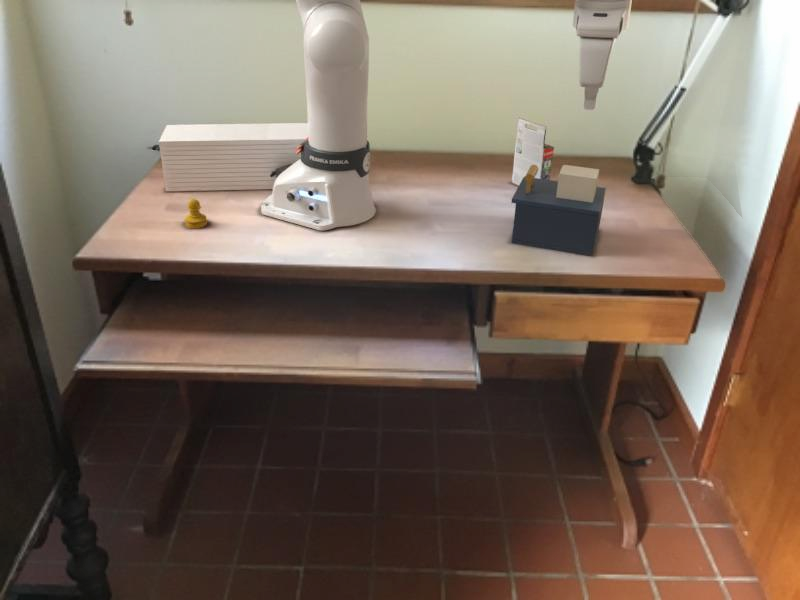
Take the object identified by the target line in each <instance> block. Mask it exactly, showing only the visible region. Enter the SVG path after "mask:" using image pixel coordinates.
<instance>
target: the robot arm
mask: <svg viewBox="0 0 800 600" xmlns="http://www.w3.org/2000/svg"><path fill="white" fill-rule="evenodd" d="M632 1H633V0H575V1H574V9H573V18H572V26H573V28H575V30H576V32H575V33H576V36H577V37H579V45H578V46H579V50H578V51H579V52H578V56H579V57H578V79H579V80H578V82H579V86H580V87H582V88H584V100H583V101H584V102H583V108H584V110H587V111H588V110H589V111H591V110H592V111H593V110H595V108H596V101H597V96H598V93H599V90H600V89H601V88H603V86H604V83H605V81H606V76H607V72H608V69H609V64H610V60H611V55H612V52H613V48H614V45H615V42H616V41H617V40H618V39H619V38H620V34H621V33H623V31H625V30H627V29H628V28H629V23H630V17H631V11H632V9H631V8H632V3H633V2H632ZM295 3H296V6H297V11H298V15H299V17H300V21H301V24H302V29H303V30H302V31H303V40H302V42H303V60H304V61H303V63H304V75H305V76H304V77H305V78H304V80H305V95H306V112H307V113H306V116H307V123H308V137H307V138H306V141H304V142H303V143H301V144H300V146H299V147H298V148H297V149H296V150H298V149H299V150H298V151H297V153H296V154H299V153H300V152H301V159H299V160H298V161H297V162H295V163H294V164H293V163H292V164H289V165H286V166H283V167H280V168H277V169H276V171H274V172H272V173H271V175H270V177H273V176H274V175H276V180H275V182H274V186H273V189H272V193H271V194H269V195H268V196H267V197H266V198H265V199H264V200H263V202H262V203H261V206H260V212H261V215H263V216H266V217H270V218H274V219H277V220H281V221H284V222H288V223H292V224H296V225H299V226H301V227H302V226H303V227H306V228H310V229H313V230H317V231H322V232H323V231H328V230H332V229H335V228H341V227H349V226H350V227H351V226H355V225H360V224H363V223H365V222H367V221H370V220H371V219H373V217H374V216H375V215H376V212H377V209H376V206H375V203H374V199H373V195H372V191H371V183H370V176H369V175H370V174H369V173H370V168H371V151H370V150H371V148H370V147H371V146H370V141H369V140H368V94H369V70H370V69H369V68H370V64H369V63H370V38H369V33H368V30H367V29H368V28H367V25H366V22H365V18H364V12H363V7H362V3H361V0H295ZM156 149H158V150H160V146H159V144H154V145H153V146H152V147H151V150H153V151H154V150H156Z"/></svg>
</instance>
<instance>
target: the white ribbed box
mask: <svg viewBox="0 0 800 600" xmlns="http://www.w3.org/2000/svg"><path fill="white" fill-rule="evenodd" d="M307 137H308V122H286V123H285V122H284V123H282V122H281V123H280V122H278V123H277V122H276V123H212V124H211V123H208V124H207V123H205V124H199V123H198V124H166V125H165V128H164V129H163V132H162V134H161V136H160V138H159V140H158V145H159V146H160V149H159V154H160V159H161V164H162V165H161V166H162V167H161V168H162V173H163V180H164V186H165V192H201V191H205V192H207V191H247V190H249V191H251V190H255V191H256V190H273V186H274V182H275V180H276V175H274V176H273V177H270V175H271V173H272V172H274V171H276V169H277V168H280V167H283V166H286V165H289V164H292V163H293V164H294V163H295V162H297V161H298V160H299V159H301V152H300V153H299V154H296V153H297V151H298V150H299V149H298V150H296V149H297V148H298V147H299V146H300V144H301V143H303V142H304V141H306V138H307Z"/></svg>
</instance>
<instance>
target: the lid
mask: <svg viewBox="0 0 800 600" xmlns="http://www.w3.org/2000/svg"><path fill="white" fill-rule="evenodd" d="M537 172H538V167H537V166H536V165H532V166H530V168H529V170H528V172H527V174H526V176H525V177H523V179H522V181H521V183H520V185H519V186H517V189H516V190H515V192H514V194H513V196H512V198H511V204H515V205H516V204H523V205H530V206H537V207H543V208H550V209H557V210H563V211H570V212H577V213H584V214H590V215H597V216H599V214H600V210H601V206H602V203H603V199H604V200H605V197H604V195H605V196H606V191H607V187H603V186H602V187H601V186H597V188H596V194H595V197H594V200H593V203H590V202H583V201H576V200H570V199H563V198H556V194H557V187H558V180H551V179H550V180H545V179H538V178H535V176H536V174H537ZM603 204H604V203H603Z"/></svg>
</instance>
